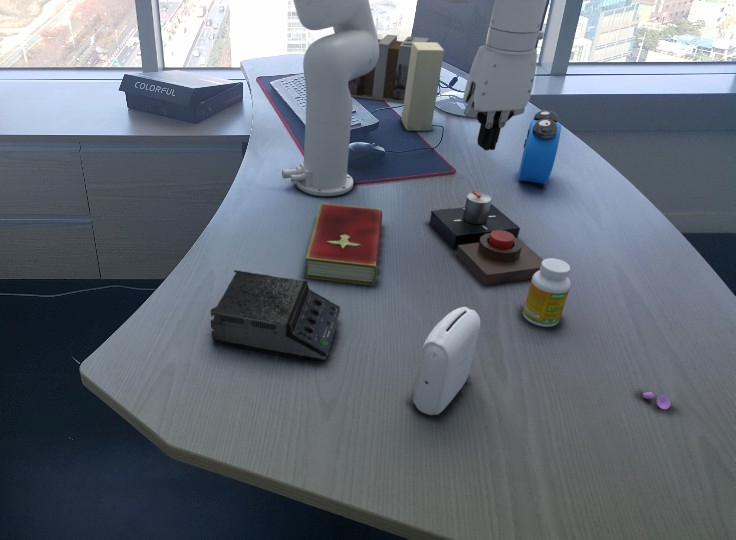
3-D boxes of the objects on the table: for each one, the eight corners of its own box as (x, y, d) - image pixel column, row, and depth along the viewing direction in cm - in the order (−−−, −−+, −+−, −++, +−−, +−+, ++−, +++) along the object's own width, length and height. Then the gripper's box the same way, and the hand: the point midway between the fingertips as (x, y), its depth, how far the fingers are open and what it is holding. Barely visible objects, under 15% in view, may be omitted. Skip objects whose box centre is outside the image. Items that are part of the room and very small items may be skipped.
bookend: (349, 80, 207) (353, 28, 198) (427, 89, 199) (434, 35, 190) (335, 94, 195) (339, 39, 186) (417, 104, 187) (425, 47, 178)
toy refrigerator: (434, 131, 169) (447, 49, 157) (406, 131, 169) (417, 49, 157) (427, 120, 175) (439, 42, 164) (401, 120, 175) (411, 41, 164)
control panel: (453, 249, 117) (456, 234, 115) (429, 224, 125) (431, 209, 124) (516, 241, 120) (520, 227, 118) (488, 217, 128) (492, 203, 126)
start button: (496, 251, 110) (498, 242, 109) (484, 239, 113) (485, 231, 112) (516, 248, 110) (519, 239, 109) (504, 237, 114) (506, 228, 113)
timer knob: (491, 223, 119) (496, 200, 117) (469, 225, 119) (474, 202, 116) (479, 212, 123) (484, 189, 120) (458, 214, 122) (463, 192, 120)
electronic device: (326, 365, 90) (329, 331, 87) (210, 343, 94) (209, 310, 91) (340, 316, 100) (343, 284, 96) (234, 298, 104) (234, 266, 100)
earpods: (659, 412, 85) (664, 400, 85) (667, 412, 83) (672, 400, 83) (638, 399, 85) (644, 388, 85) (646, 399, 83) (651, 387, 84)
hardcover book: (381, 227, 124) (383, 207, 122) (375, 285, 107) (378, 264, 105) (320, 220, 126) (321, 201, 124) (304, 277, 109) (305, 256, 107)
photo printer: (437, 421, 81) (453, 346, 74) (407, 406, 83) (420, 331, 77) (471, 379, 88) (489, 307, 81) (442, 366, 90) (458, 294, 83)
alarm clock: (545, 194, 137) (563, 127, 128) (515, 189, 139) (531, 123, 130) (546, 171, 147) (563, 107, 139) (518, 167, 149) (533, 104, 141)
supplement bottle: (541, 331, 97) (558, 278, 91) (514, 313, 101) (528, 260, 95) (566, 321, 99) (584, 269, 94) (539, 303, 103) (554, 252, 98)
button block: (484, 285, 107) (488, 265, 105) (455, 255, 115) (459, 236, 113) (547, 277, 109) (553, 257, 107) (515, 248, 118) (520, 229, 115)
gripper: (539, 32, 106) (512, 136, 116) (457, 35, 103) (437, 141, 114) (566, 44, 100) (536, 153, 110) (480, 47, 97) (456, 158, 107)
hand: (485, 147), depth 112 cm, fingers closed
